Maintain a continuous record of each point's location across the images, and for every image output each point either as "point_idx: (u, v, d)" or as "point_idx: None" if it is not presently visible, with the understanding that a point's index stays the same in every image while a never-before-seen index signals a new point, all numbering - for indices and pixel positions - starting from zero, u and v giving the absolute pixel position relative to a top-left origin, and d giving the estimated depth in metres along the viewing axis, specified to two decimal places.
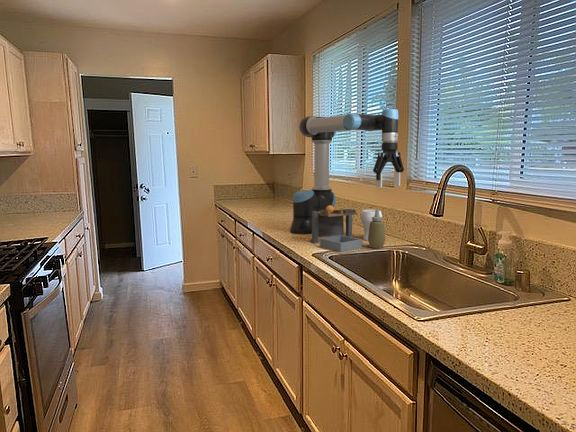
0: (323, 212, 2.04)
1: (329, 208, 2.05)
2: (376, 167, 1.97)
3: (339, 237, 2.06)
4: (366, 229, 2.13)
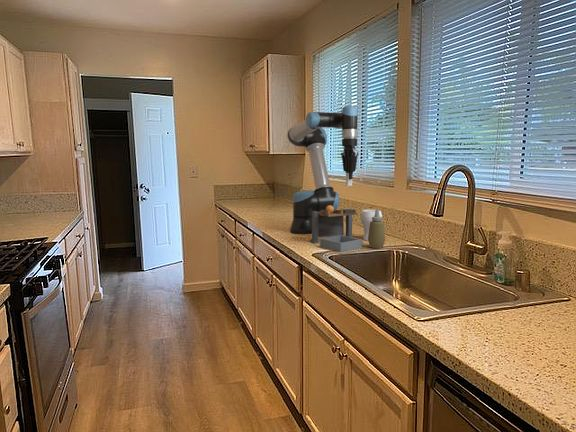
0: (323, 212, 2.04)
1: (329, 208, 2.05)
2: None
3: (339, 237, 2.06)
4: (366, 229, 2.13)
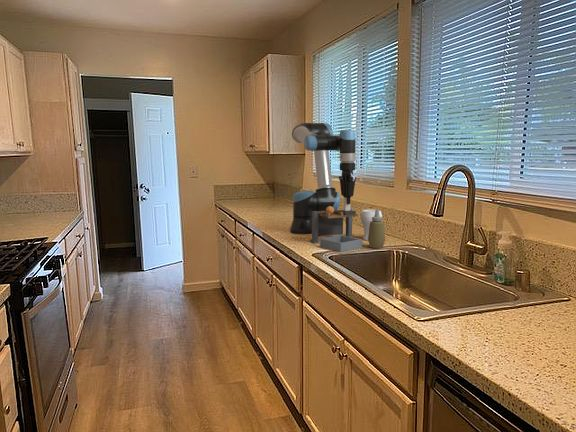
0: (323, 213, 2.04)
1: (329, 209, 2.05)
2: None
3: (339, 237, 2.06)
4: (366, 229, 2.13)
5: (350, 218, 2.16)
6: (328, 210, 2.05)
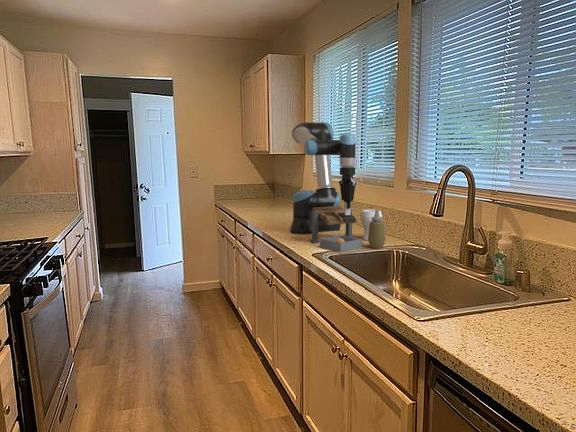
0: (323, 217, 2.04)
1: None
2: None
3: (339, 237, 2.06)
4: (366, 229, 2.13)
5: None
6: None
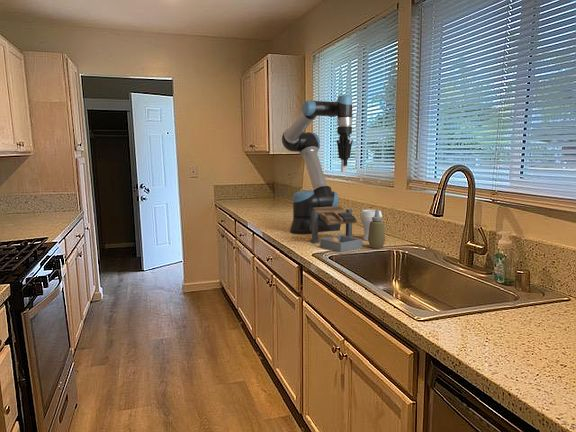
0: (323, 217, 2.04)
1: (337, 241, 1.95)
2: None
3: (339, 237, 2.06)
4: (366, 229, 2.13)
5: None
6: None
